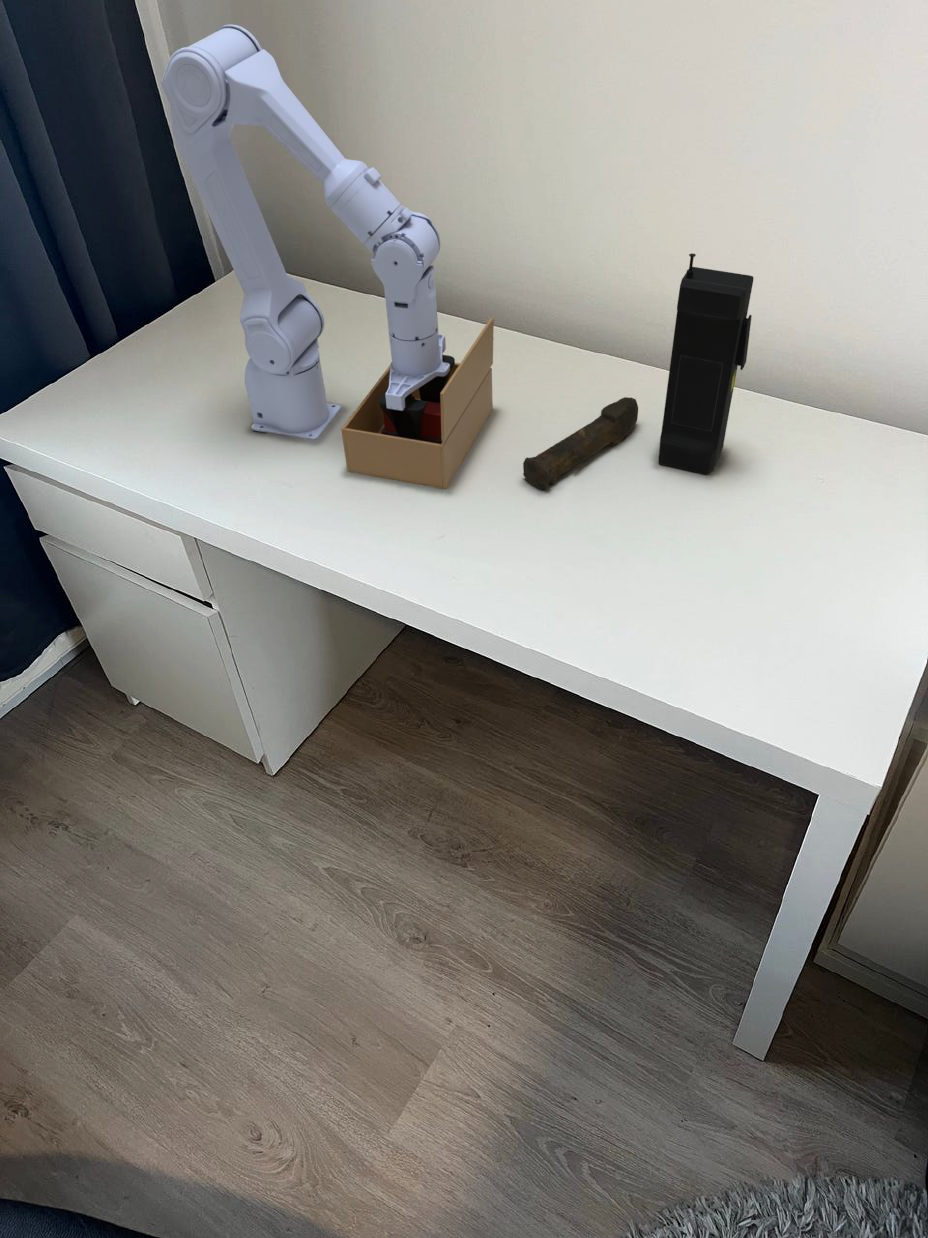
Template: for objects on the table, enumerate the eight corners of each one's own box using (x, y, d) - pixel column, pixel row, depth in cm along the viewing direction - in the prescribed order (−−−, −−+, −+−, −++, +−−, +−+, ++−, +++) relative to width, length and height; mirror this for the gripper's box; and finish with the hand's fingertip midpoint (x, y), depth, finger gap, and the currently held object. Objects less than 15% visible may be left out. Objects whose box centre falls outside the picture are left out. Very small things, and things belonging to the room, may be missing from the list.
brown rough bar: (544, 497, 110) (545, 464, 107) (521, 481, 112) (521, 449, 109) (652, 433, 118) (656, 401, 115) (628, 420, 120) (632, 388, 117)
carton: (402, 397, 126) (398, 354, 122) (492, 411, 123) (491, 367, 118) (347, 473, 115) (340, 429, 110) (446, 491, 111) (443, 446, 107)
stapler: (381, 439, 119) (377, 406, 115) (390, 426, 121) (386, 393, 117) (455, 451, 116) (454, 418, 113) (464, 438, 118) (462, 405, 115)
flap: (491, 316, 114) (493, 317, 113) (490, 363, 118) (492, 363, 118) (440, 393, 102) (443, 393, 102) (441, 441, 106) (444, 441, 106)
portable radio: (731, 450, 115) (770, 249, 97) (719, 478, 111) (757, 273, 93) (668, 437, 117) (695, 238, 100) (654, 463, 114) (680, 261, 96)
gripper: (423, 364, 102) (431, 467, 112) (466, 303, 112) (471, 403, 121) (363, 356, 104) (377, 457, 114) (411, 296, 113) (420, 395, 123)
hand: (422, 429), depth 118 cm, fingers open, 7 cm apart
